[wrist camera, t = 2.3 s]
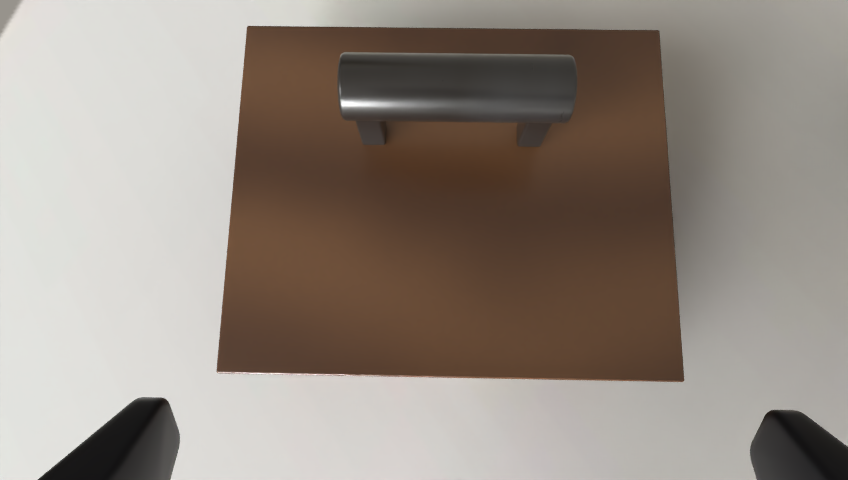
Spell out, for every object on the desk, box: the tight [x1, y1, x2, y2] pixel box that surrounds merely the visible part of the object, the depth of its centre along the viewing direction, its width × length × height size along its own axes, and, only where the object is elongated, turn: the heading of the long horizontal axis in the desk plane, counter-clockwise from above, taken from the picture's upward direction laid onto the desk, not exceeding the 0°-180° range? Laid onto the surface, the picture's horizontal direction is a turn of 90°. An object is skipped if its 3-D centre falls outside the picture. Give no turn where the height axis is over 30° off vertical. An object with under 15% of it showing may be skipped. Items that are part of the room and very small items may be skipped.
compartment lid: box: [217, 26, 684, 382], centre depth 15 cm, size 10×13×5 cm
